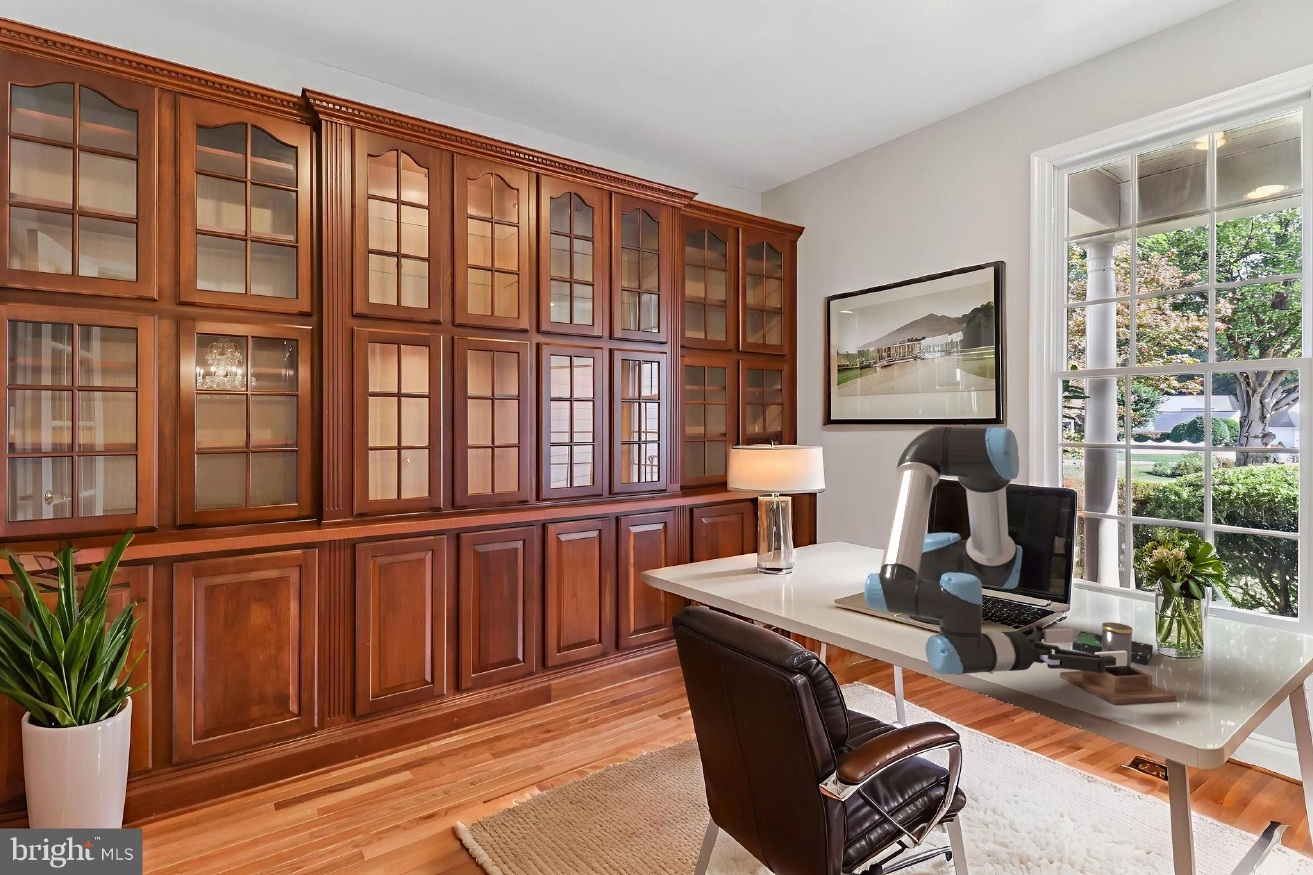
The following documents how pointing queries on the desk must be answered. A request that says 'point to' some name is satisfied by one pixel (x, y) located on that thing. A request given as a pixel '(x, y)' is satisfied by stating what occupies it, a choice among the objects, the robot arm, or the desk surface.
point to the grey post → (1117, 645)
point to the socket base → (1119, 686)
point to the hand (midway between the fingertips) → (1097, 646)
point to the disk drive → (1094, 644)
